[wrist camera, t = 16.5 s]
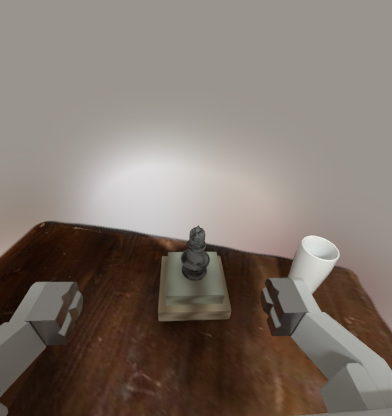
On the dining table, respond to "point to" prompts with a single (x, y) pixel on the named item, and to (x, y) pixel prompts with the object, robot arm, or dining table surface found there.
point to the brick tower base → (191, 309)
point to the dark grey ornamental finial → (195, 256)
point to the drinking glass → (314, 261)
